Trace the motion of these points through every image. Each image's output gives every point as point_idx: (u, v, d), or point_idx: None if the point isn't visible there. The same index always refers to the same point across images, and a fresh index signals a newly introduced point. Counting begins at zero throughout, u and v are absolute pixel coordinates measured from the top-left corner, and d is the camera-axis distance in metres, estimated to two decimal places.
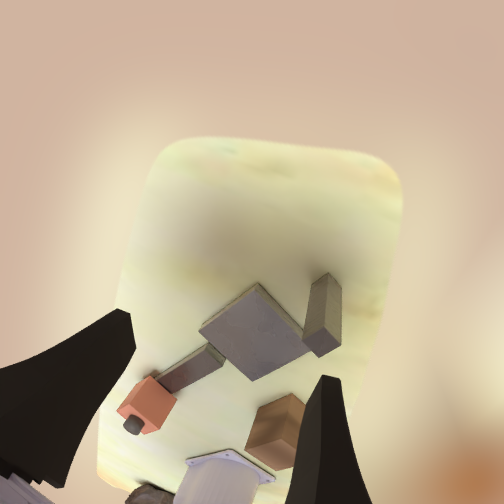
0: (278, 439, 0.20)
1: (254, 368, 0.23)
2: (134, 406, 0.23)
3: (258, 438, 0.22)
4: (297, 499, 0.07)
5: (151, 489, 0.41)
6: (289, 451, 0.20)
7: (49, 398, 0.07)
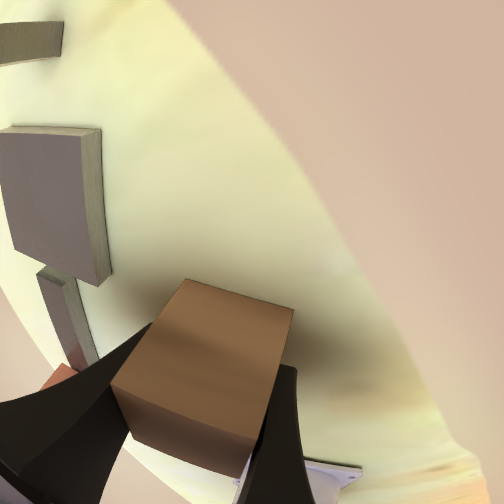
0: (112, 387, 0.07)
1: (75, 256, 0.11)
2: None
3: None
4: (244, 487, 0.07)
5: None
6: (171, 420, 0.07)
7: (89, 423, 0.06)
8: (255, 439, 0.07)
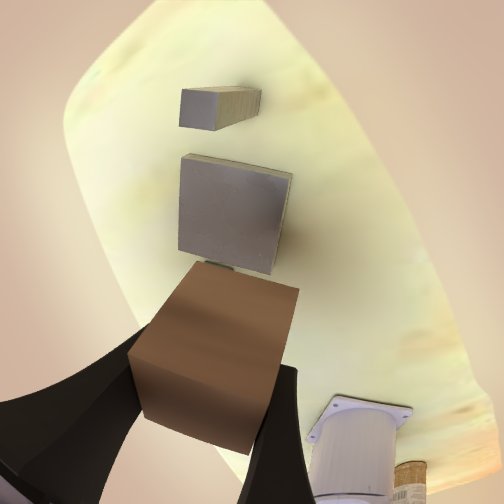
0: None
1: (257, 254, 0.18)
2: None
3: None
4: (245, 487, 0.07)
5: None
6: (186, 388, 0.08)
7: (88, 423, 0.07)
8: (267, 403, 0.07)
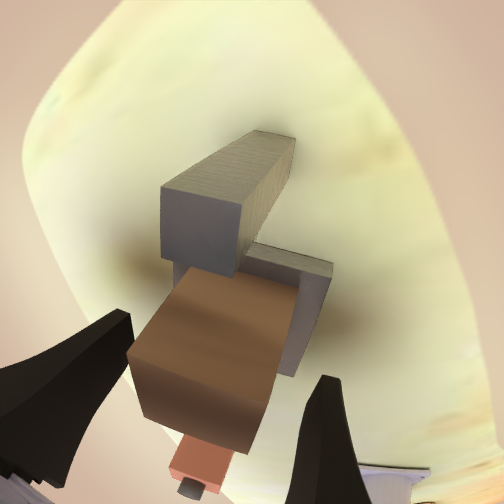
0: (128, 357, 0.08)
1: None
2: (177, 468, 0.16)
3: None
4: (297, 499, 0.07)
5: None
6: (185, 388, 0.08)
7: (49, 398, 0.07)
8: (266, 403, 0.07)
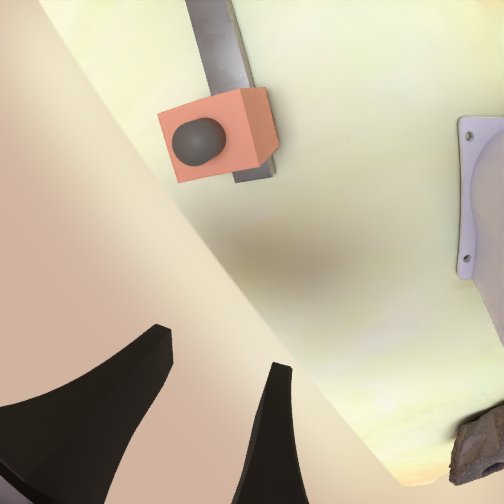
0: None
1: None
2: (170, 109, 0.11)
3: None
4: (239, 486, 0.07)
5: (471, 425, 0.21)
6: None
7: (94, 426, 0.06)
8: None
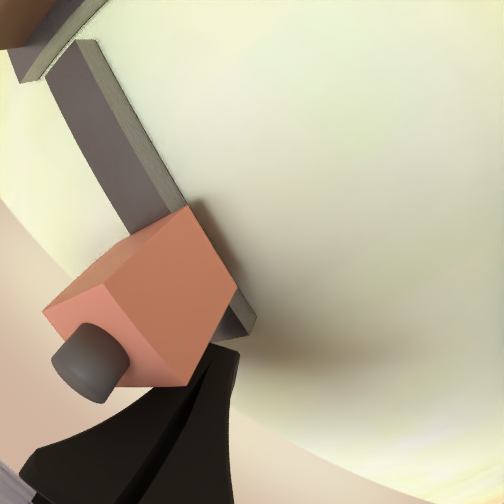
0: None
1: None
2: (52, 304, 0.07)
3: None
4: None
5: None
6: None
7: (154, 457, 0.06)
8: None
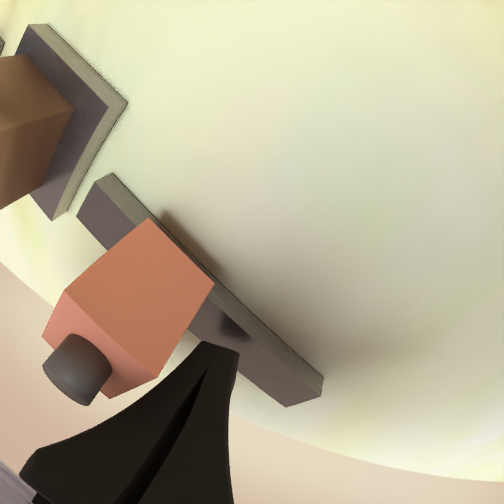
0: None
1: (75, 109, 0.08)
2: (47, 327, 0.08)
3: None
4: None
5: None
6: None
7: (155, 457, 0.06)
8: None
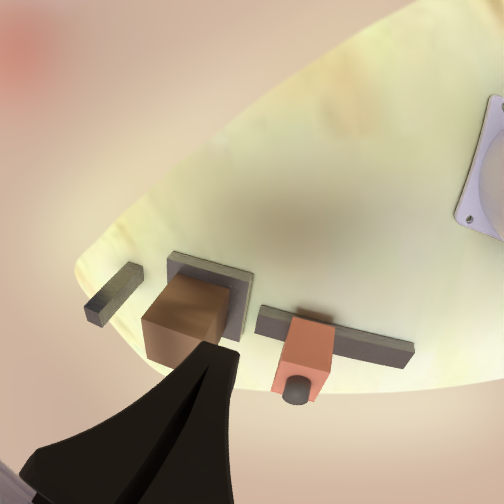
0: (150, 359, 0.20)
1: (230, 288, 0.21)
2: (272, 384, 0.19)
3: None
4: None
5: None
6: (152, 345, 0.19)
7: (155, 457, 0.06)
8: (141, 318, 0.18)
